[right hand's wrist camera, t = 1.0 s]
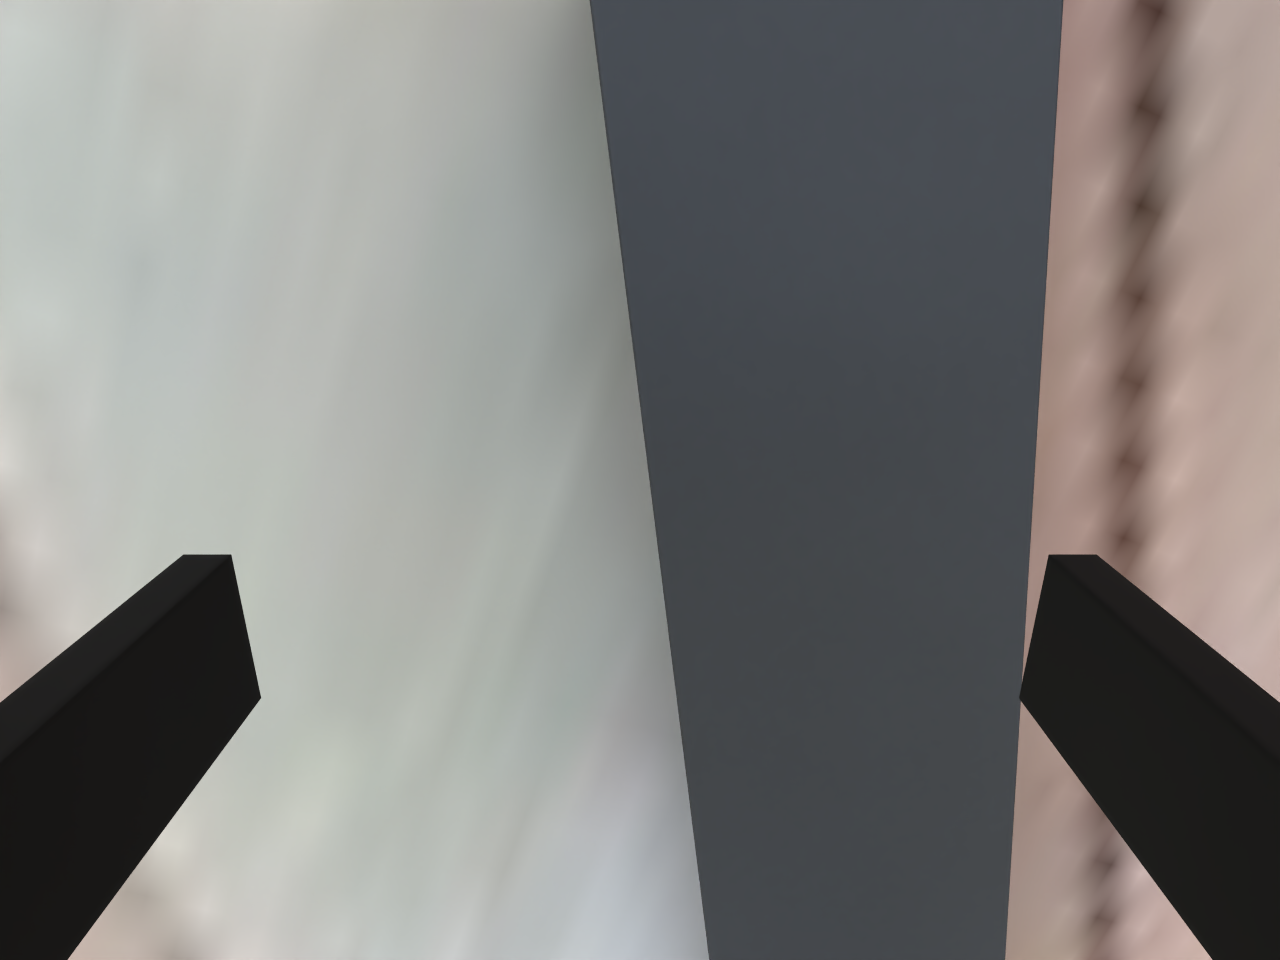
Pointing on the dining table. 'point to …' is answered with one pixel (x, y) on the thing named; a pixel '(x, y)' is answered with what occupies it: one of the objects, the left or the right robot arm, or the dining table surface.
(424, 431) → the dining table surface
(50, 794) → the right robot arm
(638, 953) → the dining table surface
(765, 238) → the wide beam
